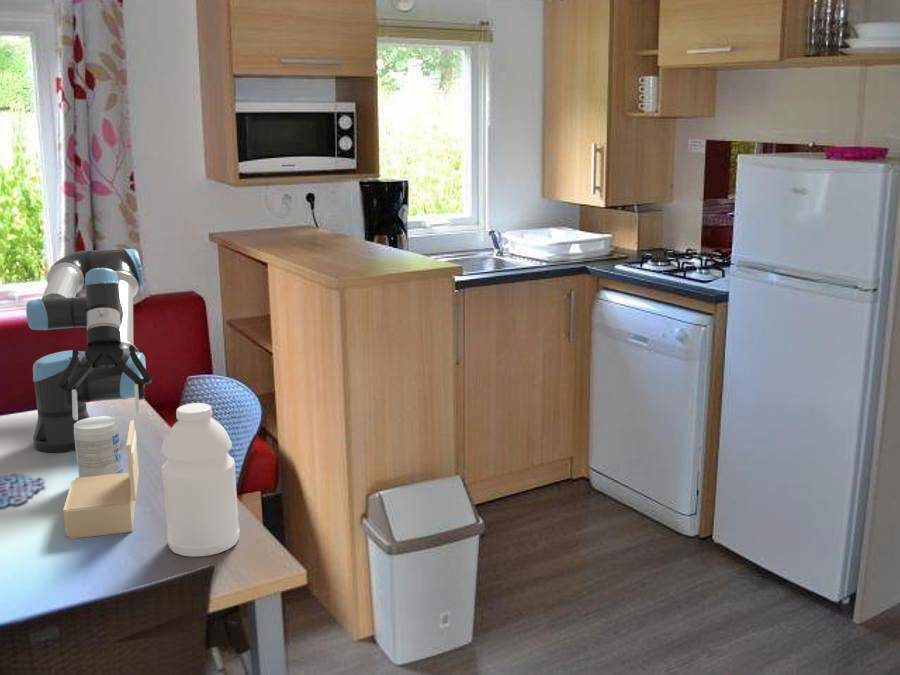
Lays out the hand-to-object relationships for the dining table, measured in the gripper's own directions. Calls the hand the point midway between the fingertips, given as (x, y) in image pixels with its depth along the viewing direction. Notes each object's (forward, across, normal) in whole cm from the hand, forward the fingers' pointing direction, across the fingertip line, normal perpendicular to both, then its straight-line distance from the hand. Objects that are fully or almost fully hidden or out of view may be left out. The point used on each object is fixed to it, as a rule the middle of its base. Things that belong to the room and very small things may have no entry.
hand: (106, 415), depth 216 cm
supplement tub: (+14, -2, +7) cm, 16 cm away
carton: (+25, 0, -9) cm, 27 cm away
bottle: (+36, +20, -23) cm, 47 cm away
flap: (+20, +6, -12) cm, 25 cm away
